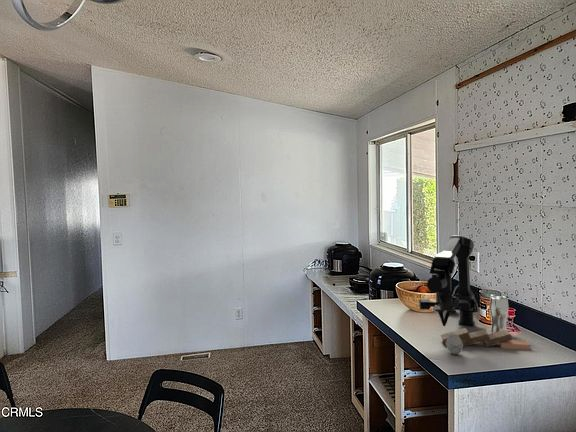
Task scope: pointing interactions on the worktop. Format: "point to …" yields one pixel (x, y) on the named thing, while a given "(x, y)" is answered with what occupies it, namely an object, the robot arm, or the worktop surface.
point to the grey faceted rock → (454, 344)
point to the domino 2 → (476, 338)
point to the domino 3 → (497, 338)
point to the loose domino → (515, 344)
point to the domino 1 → (462, 334)
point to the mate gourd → (454, 296)
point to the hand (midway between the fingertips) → (443, 325)
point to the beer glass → (498, 313)
